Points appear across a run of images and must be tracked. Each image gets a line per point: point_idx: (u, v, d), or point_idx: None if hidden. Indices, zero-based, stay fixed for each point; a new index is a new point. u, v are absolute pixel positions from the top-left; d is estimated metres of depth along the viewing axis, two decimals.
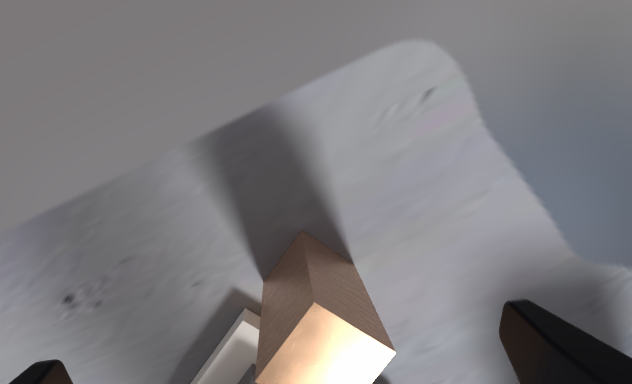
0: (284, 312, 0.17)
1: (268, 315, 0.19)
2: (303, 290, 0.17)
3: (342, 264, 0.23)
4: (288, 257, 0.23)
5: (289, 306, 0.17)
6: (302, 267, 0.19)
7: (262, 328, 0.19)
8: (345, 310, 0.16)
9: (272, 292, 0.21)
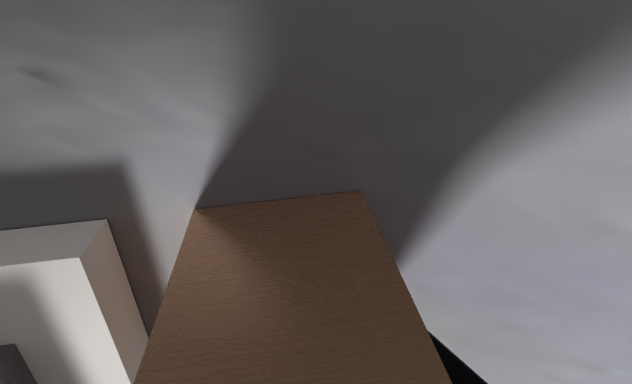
0: None
1: None
2: None
3: None
4: (310, 229, 0.08)
5: None
6: (412, 360, 0.05)
7: None
8: None
9: (226, 294, 0.07)
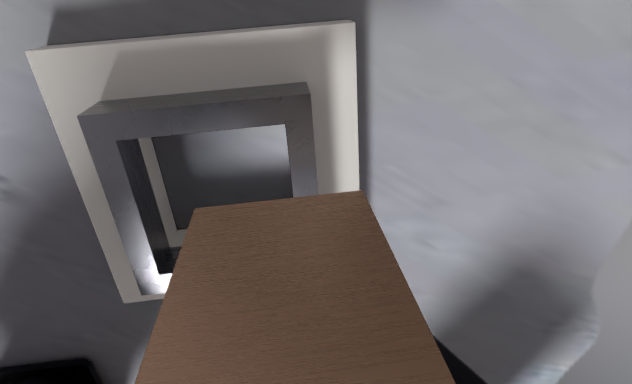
0: None
1: None
2: None
3: None
4: (311, 228, 0.08)
5: None
6: (414, 358, 0.05)
7: None
8: None
9: (227, 293, 0.07)
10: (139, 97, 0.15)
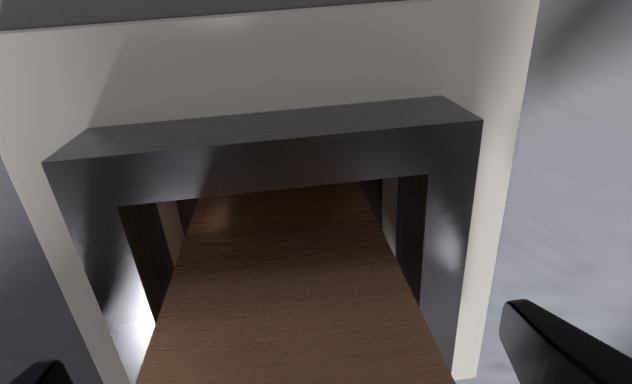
0: (295, 366, 0.05)
1: (212, 293, 0.07)
2: (410, 378, 0.05)
3: None
4: (304, 187, 0.10)
5: (329, 375, 0.05)
6: (378, 267, 0.07)
7: (176, 316, 0.06)
8: None
9: (237, 229, 0.08)
10: (157, 122, 0.09)
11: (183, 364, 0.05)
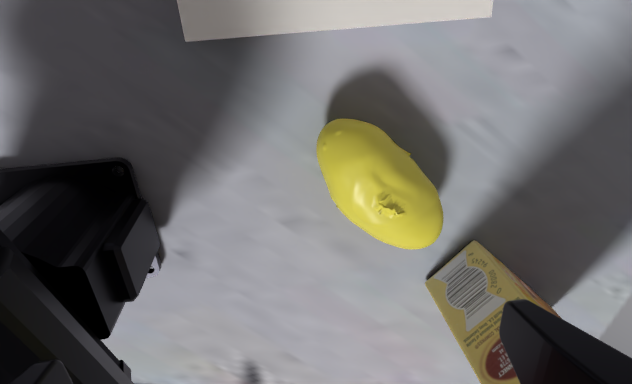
0: None
1: None
2: None
3: None
4: None
5: None
6: None
7: None
8: None
9: None
10: None
11: None
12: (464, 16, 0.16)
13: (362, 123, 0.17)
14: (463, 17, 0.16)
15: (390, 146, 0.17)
